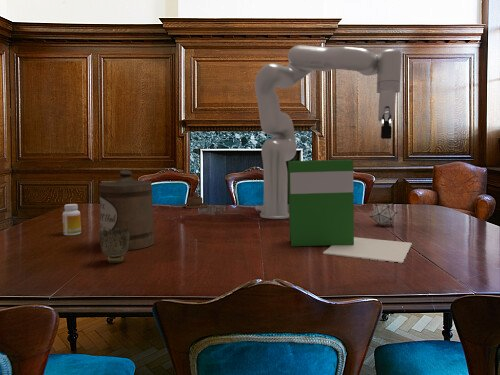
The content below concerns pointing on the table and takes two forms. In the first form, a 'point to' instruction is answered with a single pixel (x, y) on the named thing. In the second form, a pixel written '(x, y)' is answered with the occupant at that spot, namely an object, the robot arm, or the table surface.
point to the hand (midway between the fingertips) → (386, 138)
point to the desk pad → (372, 250)
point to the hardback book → (321, 202)
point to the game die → (383, 214)
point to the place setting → (195, 202)
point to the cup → (114, 243)
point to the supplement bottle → (71, 220)
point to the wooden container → (128, 209)
